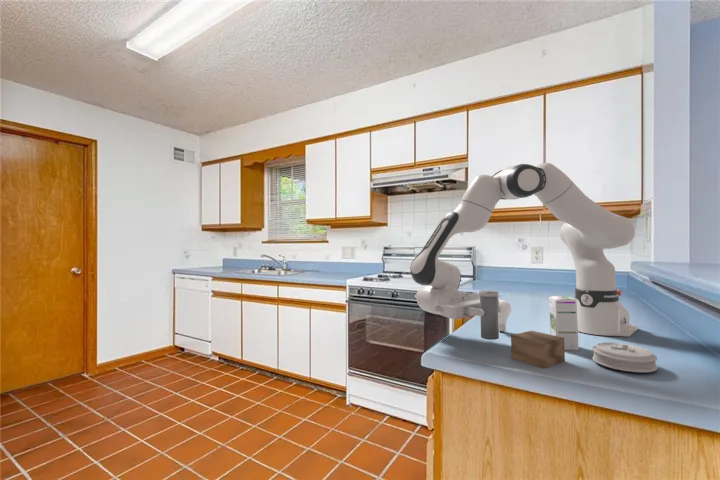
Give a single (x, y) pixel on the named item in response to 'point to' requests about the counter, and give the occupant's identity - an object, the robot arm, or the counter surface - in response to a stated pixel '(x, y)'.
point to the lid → (624, 357)
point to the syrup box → (564, 320)
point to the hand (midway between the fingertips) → (491, 311)
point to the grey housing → (489, 315)
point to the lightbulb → (503, 314)
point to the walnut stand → (537, 348)
